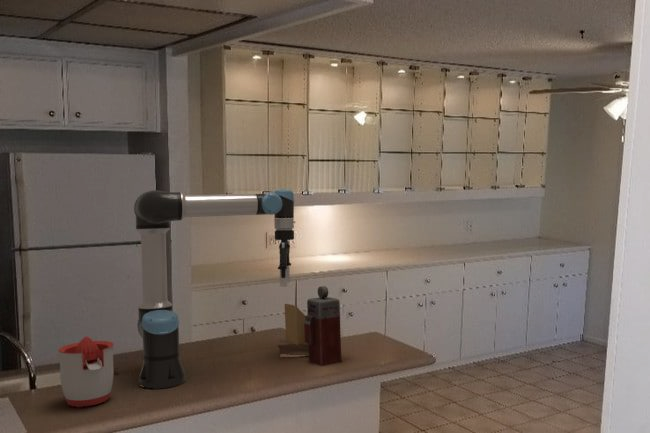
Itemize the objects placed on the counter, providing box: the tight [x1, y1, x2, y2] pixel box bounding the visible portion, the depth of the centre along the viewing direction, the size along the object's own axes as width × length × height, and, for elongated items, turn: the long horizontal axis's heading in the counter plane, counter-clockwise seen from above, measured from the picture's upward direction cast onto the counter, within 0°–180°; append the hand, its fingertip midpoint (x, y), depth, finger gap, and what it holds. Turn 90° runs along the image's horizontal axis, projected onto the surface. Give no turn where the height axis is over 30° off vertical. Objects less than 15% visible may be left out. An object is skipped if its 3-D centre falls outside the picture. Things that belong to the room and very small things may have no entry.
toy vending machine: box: [304, 285, 342, 367], centre depth 219 cm, size 9×11×28 cm
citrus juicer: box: [57, 336, 115, 408], centre depth 180 cm, size 16×17×20 cm
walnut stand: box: [277, 337, 309, 356], centre depth 233 cm, size 12×19×5 cm, turn 90°
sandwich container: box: [284, 303, 306, 345], centre depth 234 cm, size 9×15×15 cm, turn 125°
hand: (284, 284), depth 230 cm, fingers open, 13 cm apart
